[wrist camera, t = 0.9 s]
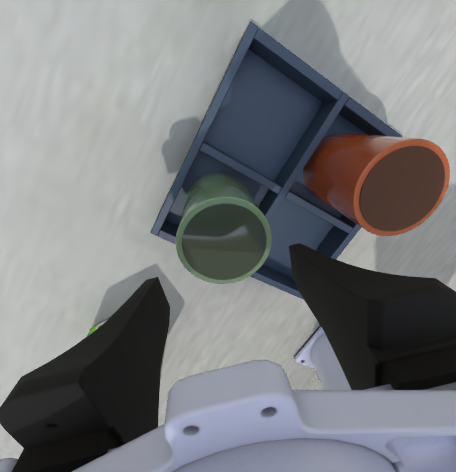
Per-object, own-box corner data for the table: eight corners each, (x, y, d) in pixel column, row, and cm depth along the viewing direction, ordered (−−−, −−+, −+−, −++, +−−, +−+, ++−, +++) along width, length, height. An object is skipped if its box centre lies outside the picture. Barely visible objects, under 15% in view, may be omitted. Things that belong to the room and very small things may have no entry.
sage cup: (261, 189, 22) (291, 224, 15) (229, 242, 24) (241, 297, 16) (202, 157, 20) (203, 178, 13) (173, 216, 22) (159, 263, 15)
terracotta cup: (380, 154, 22) (471, 171, 14) (338, 210, 23) (401, 250, 16) (329, 118, 20) (403, 117, 13) (289, 181, 22) (334, 211, 15)
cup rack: (395, 147, 22) (422, 151, 19) (294, 282, 27) (304, 300, 24) (243, 35, 18) (250, 20, 15) (156, 220, 23) (150, 233, 20)
